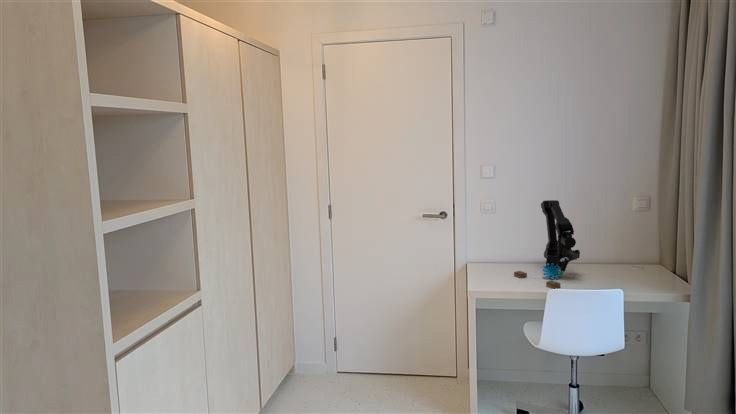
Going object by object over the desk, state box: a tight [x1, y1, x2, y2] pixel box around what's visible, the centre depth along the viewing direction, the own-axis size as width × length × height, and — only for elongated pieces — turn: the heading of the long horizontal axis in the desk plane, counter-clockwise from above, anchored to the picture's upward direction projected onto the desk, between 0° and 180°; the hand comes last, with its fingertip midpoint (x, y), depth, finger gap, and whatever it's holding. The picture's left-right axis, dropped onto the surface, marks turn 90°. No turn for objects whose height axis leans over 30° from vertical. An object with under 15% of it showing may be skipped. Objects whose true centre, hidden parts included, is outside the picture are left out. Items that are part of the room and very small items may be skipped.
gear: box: [542, 263, 565, 281], centre depth 292 cm, size 11×6×10 cm
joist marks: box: [513, 270, 561, 289], centre depth 286 cm, size 4×29×2 cm, turn 27°
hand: (563, 272), depth 294 cm, fingers closed
